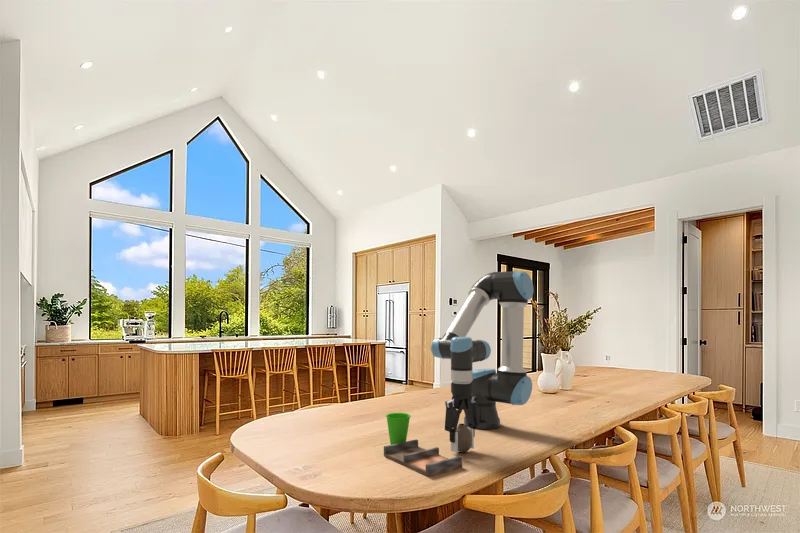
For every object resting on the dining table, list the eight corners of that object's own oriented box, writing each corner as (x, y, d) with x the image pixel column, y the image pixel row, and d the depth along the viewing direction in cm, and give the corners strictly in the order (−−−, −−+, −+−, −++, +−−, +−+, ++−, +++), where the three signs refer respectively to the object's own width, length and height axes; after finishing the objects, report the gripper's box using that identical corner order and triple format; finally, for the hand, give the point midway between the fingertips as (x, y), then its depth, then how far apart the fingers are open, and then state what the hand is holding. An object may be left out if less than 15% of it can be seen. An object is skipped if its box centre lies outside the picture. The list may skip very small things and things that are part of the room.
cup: (396, 441, 175) (396, 411, 176) (415, 446, 170) (415, 415, 171) (380, 447, 168) (380, 415, 169) (399, 452, 163) (400, 419, 164)
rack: (416, 448, 167) (416, 439, 167) (462, 467, 149) (462, 456, 149) (383, 456, 159) (383, 446, 159) (427, 476, 140) (427, 465, 141)
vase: (448, 448, 165) (448, 422, 166) (466, 446, 168) (466, 420, 168) (458, 454, 159) (458, 427, 159) (476, 452, 161) (476, 425, 162)
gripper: (474, 377, 174) (474, 441, 172) (433, 383, 162) (433, 452, 161) (489, 380, 168) (490, 446, 166) (447, 386, 156) (448, 458, 155)
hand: (462, 449), depth 163 cm, fingers closed on vase, 7 cm apart
